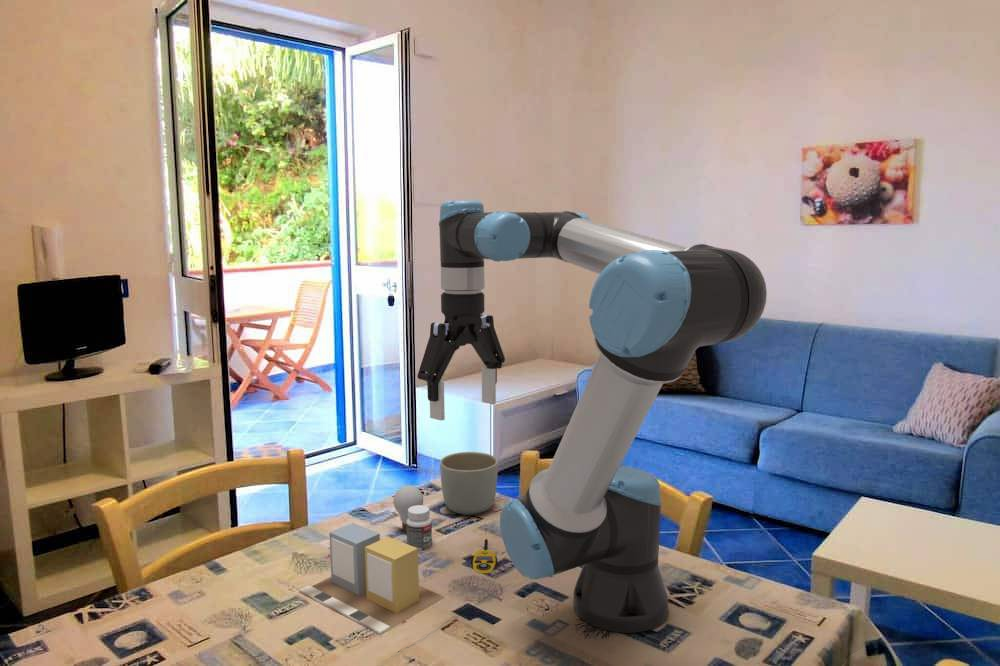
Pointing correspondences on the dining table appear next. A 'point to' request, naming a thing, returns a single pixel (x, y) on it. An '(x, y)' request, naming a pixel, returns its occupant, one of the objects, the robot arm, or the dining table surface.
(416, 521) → the pill bottle
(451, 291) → the robot arm
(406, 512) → the light bulb
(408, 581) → the tea box
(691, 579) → the dining table surface
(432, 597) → the shelf board
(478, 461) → the planter
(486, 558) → the yellow walkie talkie
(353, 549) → the slate box
